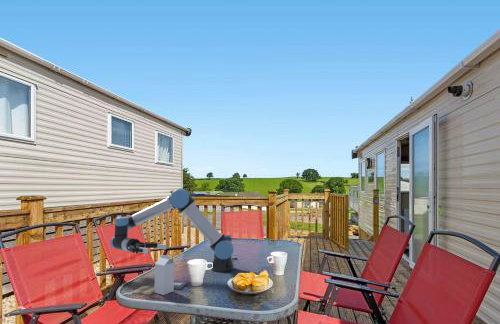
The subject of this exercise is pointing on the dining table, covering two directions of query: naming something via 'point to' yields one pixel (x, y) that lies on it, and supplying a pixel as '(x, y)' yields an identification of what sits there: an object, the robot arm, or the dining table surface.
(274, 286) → the dining table surface
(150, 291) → the coaster
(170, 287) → the milk carton
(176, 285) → the label panel
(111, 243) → the robot arm
